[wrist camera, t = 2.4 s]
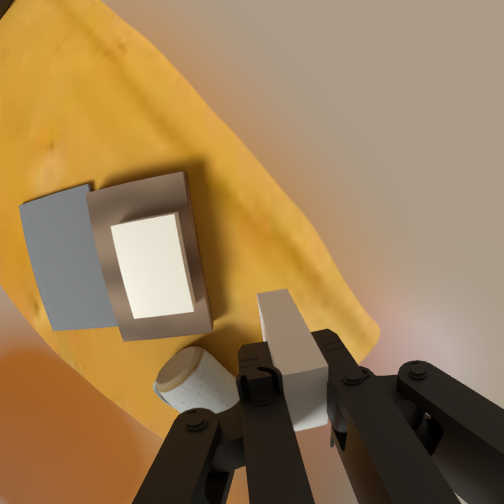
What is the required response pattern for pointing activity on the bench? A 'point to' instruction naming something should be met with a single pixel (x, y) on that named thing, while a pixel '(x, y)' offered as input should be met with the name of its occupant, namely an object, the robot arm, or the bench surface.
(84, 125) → the bench surface
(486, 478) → the robot arm
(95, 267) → the mat
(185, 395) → the ceramic mug
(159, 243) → the white rectangular block
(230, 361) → the bench surface
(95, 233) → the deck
